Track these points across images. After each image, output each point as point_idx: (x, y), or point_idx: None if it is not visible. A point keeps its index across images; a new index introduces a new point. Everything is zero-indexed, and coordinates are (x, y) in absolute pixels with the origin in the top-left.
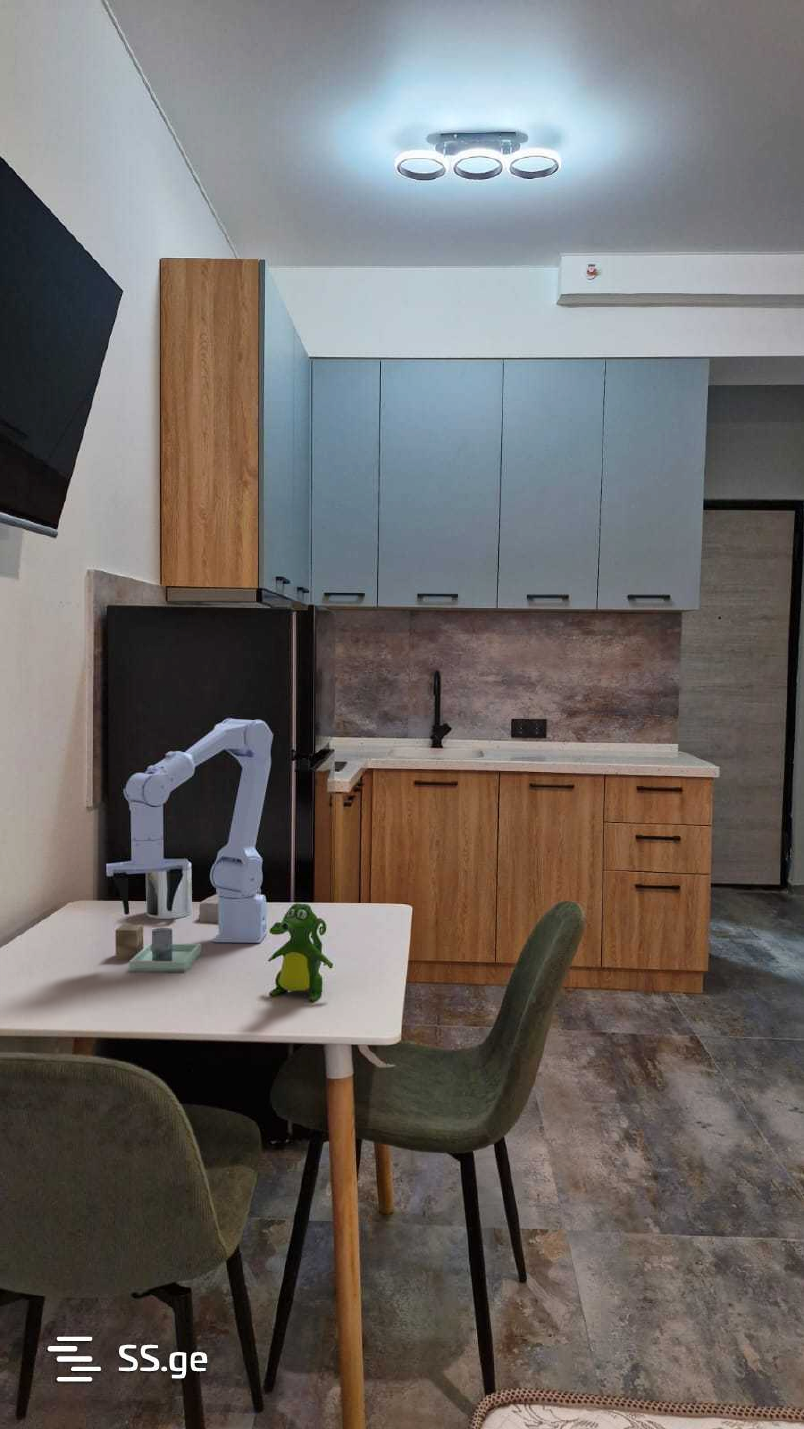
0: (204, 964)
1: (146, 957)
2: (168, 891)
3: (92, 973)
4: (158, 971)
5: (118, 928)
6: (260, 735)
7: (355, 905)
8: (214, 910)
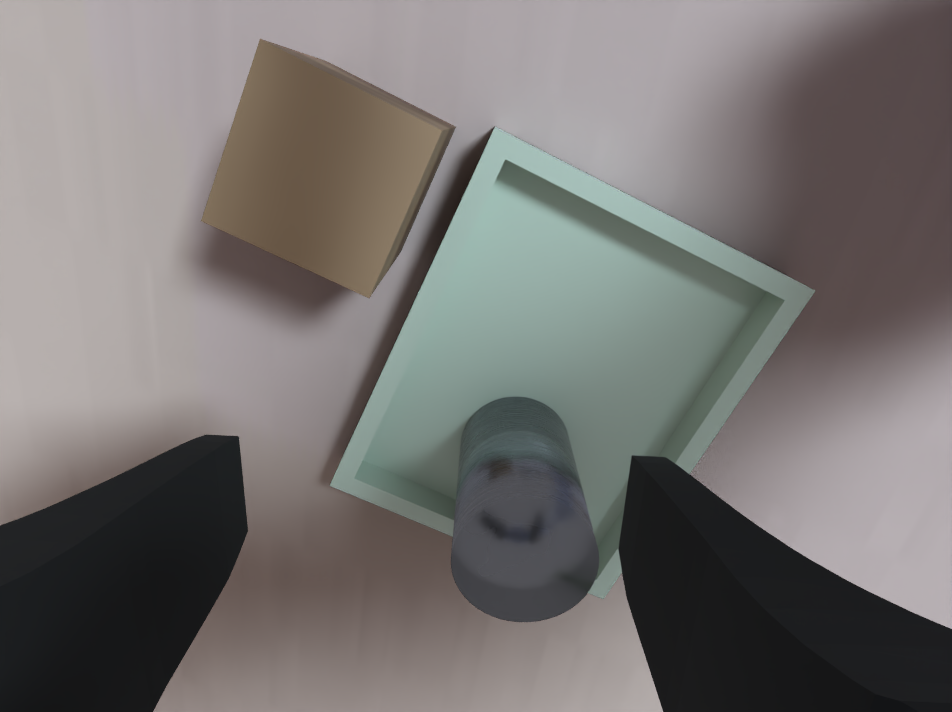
0: (725, 484)
1: (449, 311)
2: (687, 665)
3: (158, 419)
4: None
5: (225, 171)
6: None
7: None
8: None
